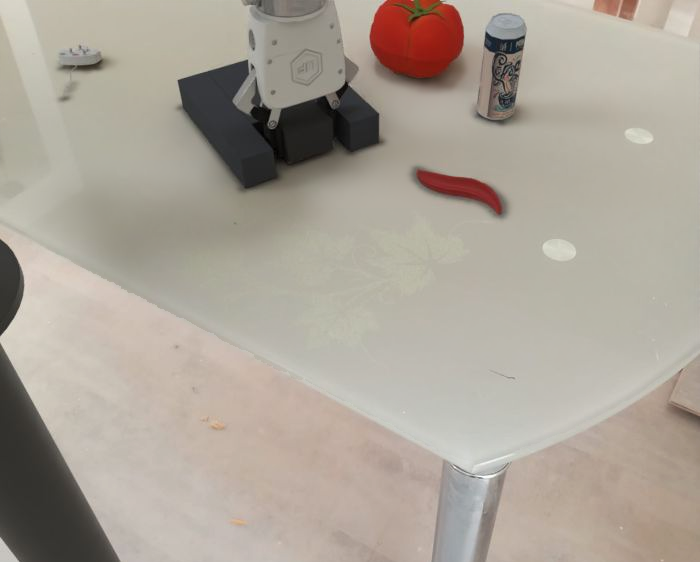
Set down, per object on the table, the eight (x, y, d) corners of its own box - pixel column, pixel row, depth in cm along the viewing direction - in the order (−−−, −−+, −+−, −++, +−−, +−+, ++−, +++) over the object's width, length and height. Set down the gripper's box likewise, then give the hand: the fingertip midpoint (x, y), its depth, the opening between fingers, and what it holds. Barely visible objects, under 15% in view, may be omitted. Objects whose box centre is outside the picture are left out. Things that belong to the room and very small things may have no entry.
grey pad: (245, 188, 89) (240, 159, 86) (182, 107, 101) (177, 79, 98) (379, 142, 95) (379, 113, 92) (305, 70, 106) (303, 42, 103)
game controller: (101, 51, 111) (96, 33, 109) (107, 92, 104) (102, 74, 102) (61, 57, 110) (55, 39, 108) (64, 99, 103) (58, 81, 101)
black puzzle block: (289, 163, 91) (286, 134, 88) (262, 133, 95) (258, 104, 92) (333, 148, 93) (332, 119, 90) (305, 119, 97) (303, 90, 94)
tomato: (486, 66, 106) (494, 2, 100) (425, 102, 101) (429, 37, 94) (412, 32, 113) (414, -29, 106) (351, 64, 107) (349, 1, 101)
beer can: (494, 127, 96) (506, 34, 87) (468, 111, 99) (477, 19, 90) (521, 114, 98) (536, 22, 89) (495, 98, 101) (507, 7, 92)
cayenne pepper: (513, 206, 86) (515, 192, 85) (485, 224, 84) (487, 210, 83) (436, 159, 92) (437, 145, 91) (408, 175, 90) (409, 161, 89)
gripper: (226, 28, 74) (249, 181, 88) (380, -15, 80) (379, 136, 93) (197, -3, 79) (223, 148, 92) (345, -41, 84) (349, 107, 98)
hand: (301, 141), depth 93 cm, fingers closed on black puzzle block, 6 cm apart
